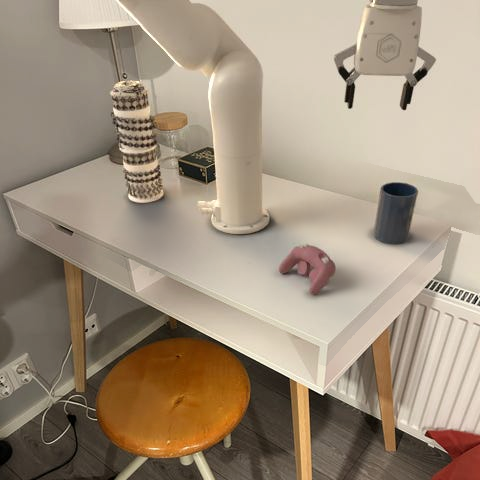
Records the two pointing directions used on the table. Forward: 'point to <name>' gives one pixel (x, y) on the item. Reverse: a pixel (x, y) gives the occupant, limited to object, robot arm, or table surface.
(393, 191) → the cup
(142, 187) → the decorative candle
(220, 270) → the table surface
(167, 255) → the table surface
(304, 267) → the video game controller
